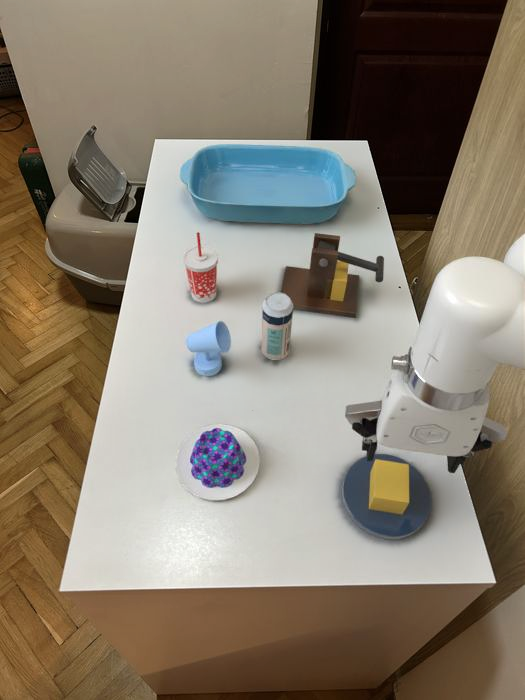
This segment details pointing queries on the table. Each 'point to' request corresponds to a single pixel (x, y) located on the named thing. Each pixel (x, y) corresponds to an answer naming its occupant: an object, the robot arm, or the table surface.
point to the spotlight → (209, 347)
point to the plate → (379, 521)
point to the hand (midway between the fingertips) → (409, 456)
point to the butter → (338, 282)
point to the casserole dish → (267, 183)
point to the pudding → (217, 462)
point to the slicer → (320, 282)
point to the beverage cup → (201, 271)
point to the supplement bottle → (276, 325)
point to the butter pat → (389, 487)
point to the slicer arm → (358, 261)
